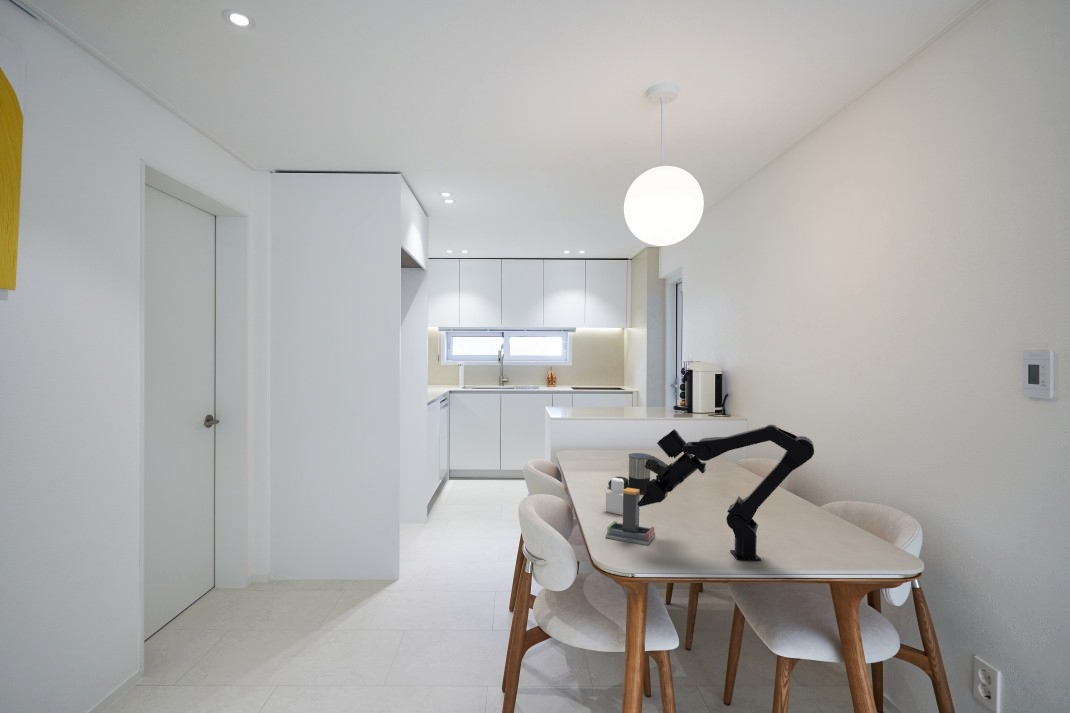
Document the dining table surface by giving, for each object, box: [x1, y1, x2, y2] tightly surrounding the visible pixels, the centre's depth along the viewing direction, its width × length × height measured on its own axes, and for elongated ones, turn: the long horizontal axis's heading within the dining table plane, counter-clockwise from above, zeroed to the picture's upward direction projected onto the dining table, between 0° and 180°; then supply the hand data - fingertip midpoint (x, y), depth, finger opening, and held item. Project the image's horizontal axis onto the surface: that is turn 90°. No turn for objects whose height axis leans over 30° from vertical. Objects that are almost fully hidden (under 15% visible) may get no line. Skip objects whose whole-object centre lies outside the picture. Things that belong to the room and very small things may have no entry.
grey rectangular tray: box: [605, 520, 656, 546], centre depth 168 cm, size 13×9×3 cm
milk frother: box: [608, 452, 652, 495], centre depth 223 cm, size 14×16×15 cm
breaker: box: [622, 488, 641, 533], centre depth 168 cm, size 4×4×13 cm
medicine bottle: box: [605, 476, 629, 516], centre depth 194 cm, size 7×7×12 cm
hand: (642, 501), depth 166 cm, fingers open, 9 cm apart
